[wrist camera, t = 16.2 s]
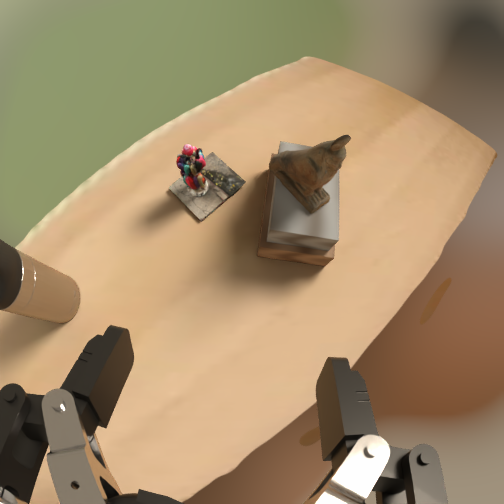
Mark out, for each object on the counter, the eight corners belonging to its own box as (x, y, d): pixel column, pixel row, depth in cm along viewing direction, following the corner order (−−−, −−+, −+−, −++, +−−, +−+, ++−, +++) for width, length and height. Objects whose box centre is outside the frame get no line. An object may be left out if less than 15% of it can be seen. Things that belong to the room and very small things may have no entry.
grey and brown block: (257, 256, 50) (261, 235, 40) (269, 168, 55) (274, 136, 46) (325, 266, 50) (344, 247, 40) (328, 179, 55) (344, 149, 46)
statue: (202, 224, 52) (182, 190, 38) (171, 191, 54) (145, 152, 39) (246, 184, 54) (241, 140, 39) (213, 155, 55) (200, 108, 41)
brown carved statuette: (325, 206, 44) (383, 167, 29) (300, 220, 43) (353, 183, 27) (289, 150, 45) (329, 91, 29) (264, 162, 44) (296, 101, 28)
